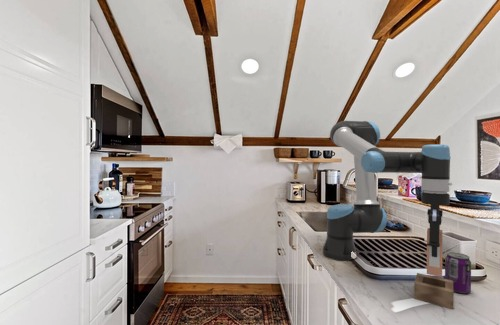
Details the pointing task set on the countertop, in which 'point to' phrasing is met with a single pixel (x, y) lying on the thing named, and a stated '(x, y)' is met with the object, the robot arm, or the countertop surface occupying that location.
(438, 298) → the socket block
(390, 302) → the countertop surface
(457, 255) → the beverage can
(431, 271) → the peg
